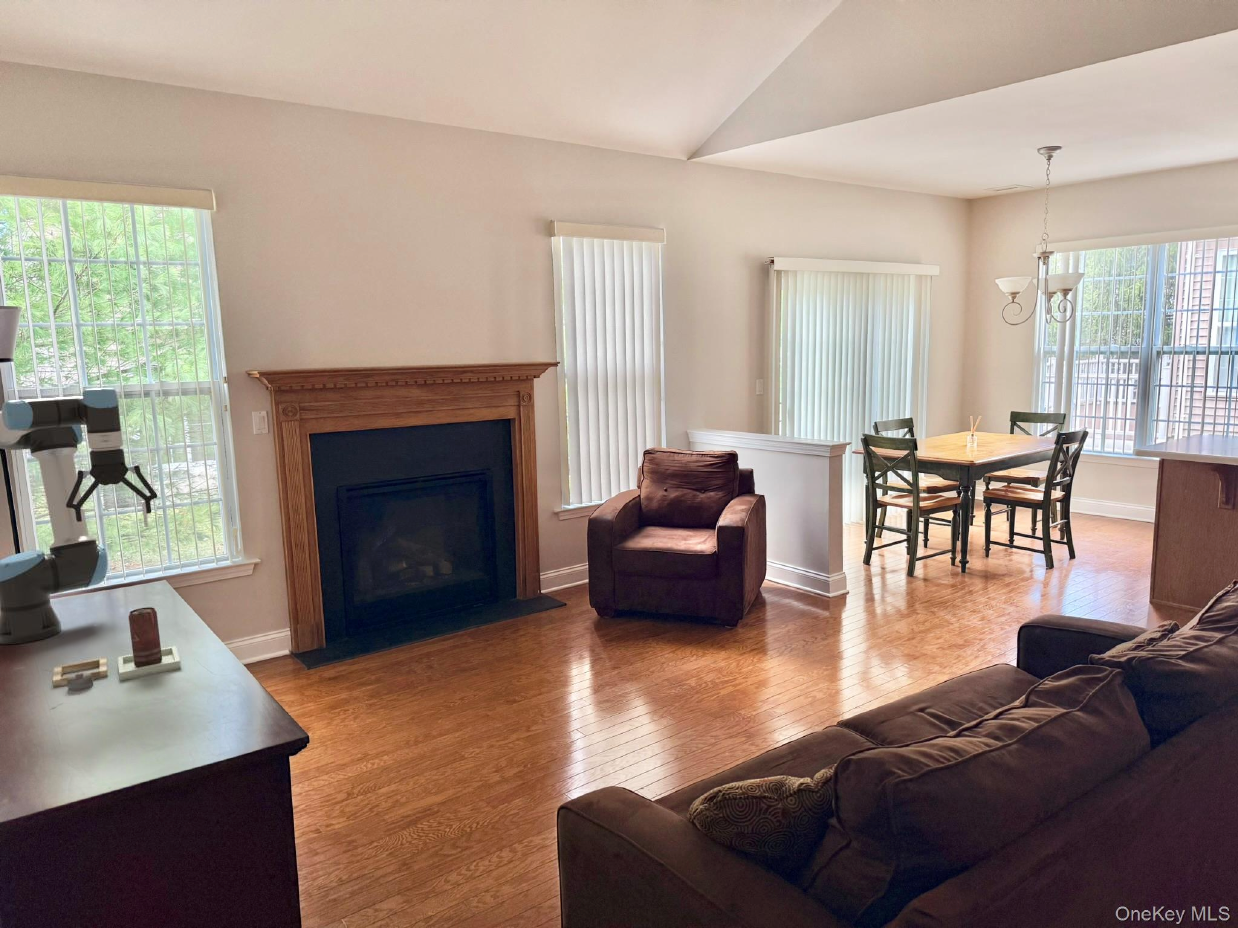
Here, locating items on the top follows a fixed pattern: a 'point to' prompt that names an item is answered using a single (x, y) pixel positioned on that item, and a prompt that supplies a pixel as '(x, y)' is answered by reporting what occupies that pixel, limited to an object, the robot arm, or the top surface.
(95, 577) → the robot arm
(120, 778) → the top surface
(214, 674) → the top surface
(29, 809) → the top surface
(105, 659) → the collar block
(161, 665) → the tray
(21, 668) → the top surface
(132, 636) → the can
